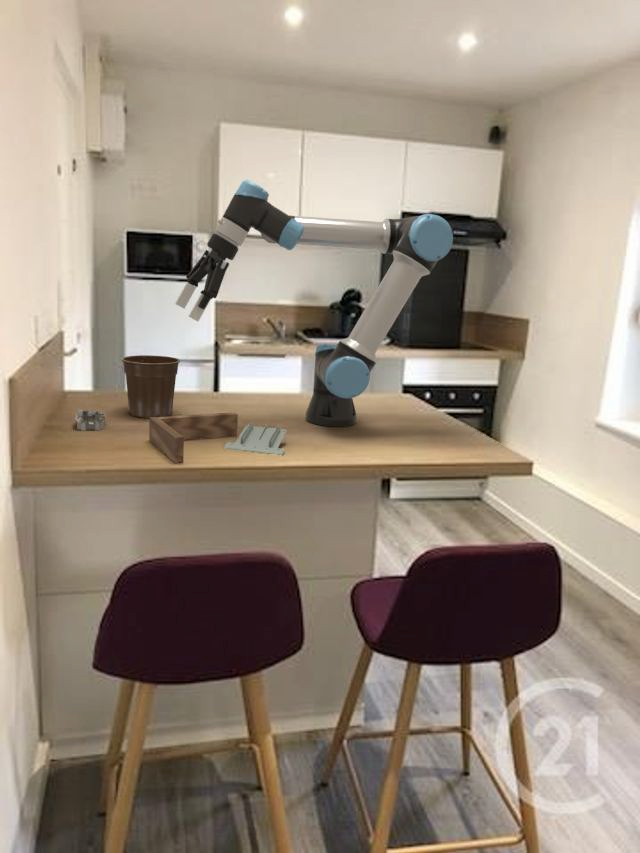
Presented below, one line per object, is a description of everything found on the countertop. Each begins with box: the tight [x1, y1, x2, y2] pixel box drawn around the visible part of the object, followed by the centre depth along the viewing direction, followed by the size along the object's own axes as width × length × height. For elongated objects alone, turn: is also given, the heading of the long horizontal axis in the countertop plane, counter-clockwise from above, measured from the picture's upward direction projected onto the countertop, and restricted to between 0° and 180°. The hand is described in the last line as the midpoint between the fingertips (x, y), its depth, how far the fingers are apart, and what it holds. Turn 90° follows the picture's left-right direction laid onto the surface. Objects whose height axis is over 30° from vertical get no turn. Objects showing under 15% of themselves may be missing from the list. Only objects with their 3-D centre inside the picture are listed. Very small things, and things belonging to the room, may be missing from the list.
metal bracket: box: [223, 422, 287, 456], centre depth 174 cm, size 14×6×15 cm
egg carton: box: [74, 408, 107, 432], centre depth 182 cm, size 11×8×4 cm
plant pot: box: [121, 354, 181, 419], centre depth 198 cm, size 16×16×16 cm
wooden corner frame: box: [148, 412, 239, 464], centre depth 169 cm, size 23×20×6 cm
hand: (186, 312), depth 178 cm, fingers open, 13 cm apart
